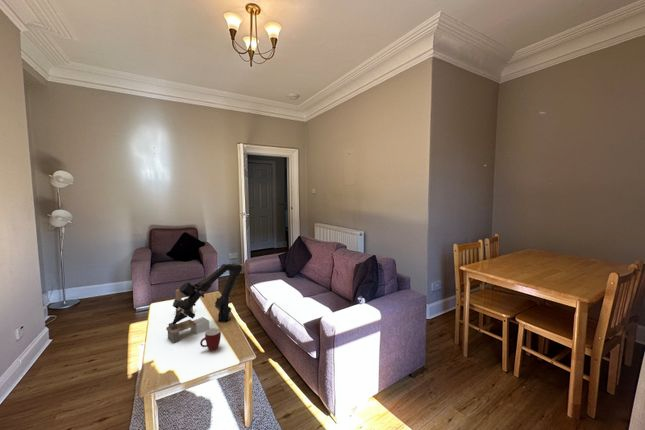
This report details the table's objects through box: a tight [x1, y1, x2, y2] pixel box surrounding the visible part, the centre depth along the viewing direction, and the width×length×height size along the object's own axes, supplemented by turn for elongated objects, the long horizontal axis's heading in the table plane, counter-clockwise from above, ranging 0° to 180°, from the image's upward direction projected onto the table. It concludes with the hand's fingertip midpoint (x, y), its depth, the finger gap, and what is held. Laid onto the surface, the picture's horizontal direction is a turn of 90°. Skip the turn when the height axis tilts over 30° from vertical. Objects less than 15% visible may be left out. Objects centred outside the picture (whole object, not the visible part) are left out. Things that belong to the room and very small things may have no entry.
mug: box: [199, 327, 222, 352], centre depth 148 cm, size 10×8×10 cm
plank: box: [165, 318, 196, 334], centre depth 161 cm, size 14×8×4 cm, turn 141°
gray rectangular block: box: [167, 316, 210, 344], centre depth 165 cm, size 22×8×6 cm, turn 141°
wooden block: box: [175, 288, 194, 313], centre depth 192 cm, size 4×11×18 cm, turn 111°
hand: (173, 323), depth 158 cm, fingers closed, pressing on plank
